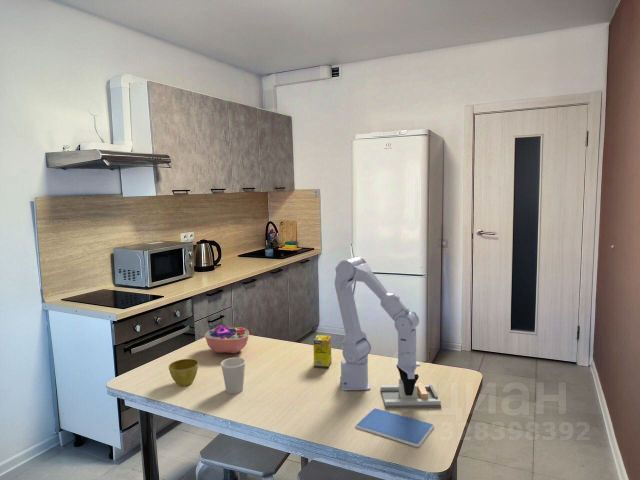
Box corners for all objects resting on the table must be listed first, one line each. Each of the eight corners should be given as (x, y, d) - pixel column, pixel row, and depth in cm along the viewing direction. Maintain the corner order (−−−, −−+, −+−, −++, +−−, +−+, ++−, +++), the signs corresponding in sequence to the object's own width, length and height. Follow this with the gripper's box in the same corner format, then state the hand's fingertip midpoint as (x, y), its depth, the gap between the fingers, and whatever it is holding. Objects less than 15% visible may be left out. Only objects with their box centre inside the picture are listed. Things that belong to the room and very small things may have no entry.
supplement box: (329, 368, 168) (328, 340, 166) (313, 367, 169) (312, 340, 168) (332, 362, 174) (331, 335, 172) (316, 361, 175) (316, 334, 173)
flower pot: (163, 386, 156) (162, 367, 155) (183, 375, 165) (182, 357, 164) (185, 391, 152) (184, 371, 151) (205, 380, 161) (204, 361, 160)
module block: (401, 399, 141) (401, 386, 140) (398, 392, 145) (398, 379, 145) (417, 399, 140) (417, 386, 140) (414, 392, 145) (414, 378, 145)
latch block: (421, 401, 139) (421, 394, 139) (416, 389, 147) (416, 382, 147) (428, 401, 139) (428, 393, 139) (422, 389, 147) (422, 382, 146)
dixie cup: (232, 383, 158) (230, 355, 156) (251, 387, 154) (250, 359, 153) (216, 393, 150) (215, 364, 149) (237, 397, 146) (235, 368, 145)
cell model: (231, 363, 175) (230, 335, 174) (196, 354, 186) (195, 327, 185) (259, 349, 189) (258, 323, 188) (225, 341, 200) (224, 317, 199)
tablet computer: (353, 429, 127) (353, 425, 126) (374, 410, 137) (374, 406, 137) (418, 450, 116) (418, 445, 116) (435, 428, 126) (435, 423, 126)
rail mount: (385, 408, 137) (385, 400, 137) (380, 389, 149) (380, 382, 149) (441, 407, 137) (441, 399, 136) (431, 388, 149) (431, 382, 149)
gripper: (424, 358, 134) (424, 401, 135) (415, 341, 148) (415, 380, 150) (401, 359, 134) (401, 402, 136) (394, 342, 148) (394, 381, 150)
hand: (407, 391), depth 143 cm, fingers closed on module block, 5 cm apart
